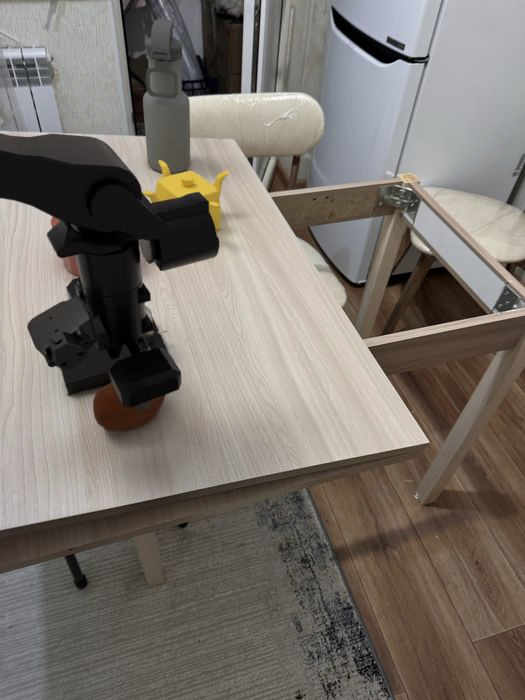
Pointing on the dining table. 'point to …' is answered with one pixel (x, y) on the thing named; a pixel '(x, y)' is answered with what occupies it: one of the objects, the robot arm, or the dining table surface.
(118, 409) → the potato
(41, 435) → the dining table surface
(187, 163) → the water bottle
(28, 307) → the dining table surface
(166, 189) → the teapot
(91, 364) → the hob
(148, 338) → the hob knob
